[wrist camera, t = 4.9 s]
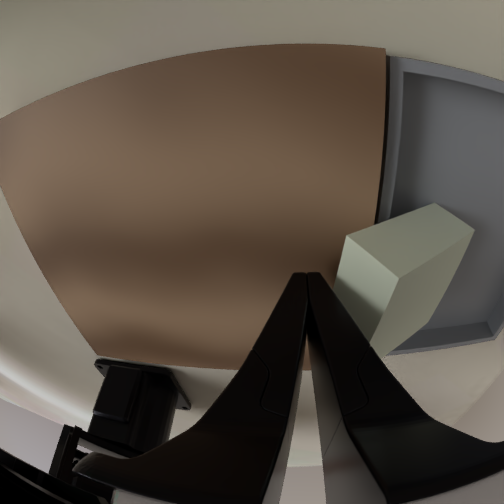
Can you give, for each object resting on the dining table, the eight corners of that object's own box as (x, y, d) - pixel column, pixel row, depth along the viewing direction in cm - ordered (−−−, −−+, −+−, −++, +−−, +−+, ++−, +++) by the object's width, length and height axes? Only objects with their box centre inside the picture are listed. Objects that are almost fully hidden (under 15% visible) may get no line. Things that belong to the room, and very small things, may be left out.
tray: (486, 321, 15) (495, 339, 13) (344, 335, 16) (347, 358, 15) (563, 106, 6) (584, 117, 5) (374, 53, 7) (389, 56, 6)
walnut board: (338, 338, 16) (342, 369, 14) (108, 330, 18) (97, 355, 16) (365, 47, 7) (385, 48, 6) (12, 112, 9) (-19, 129, 8)
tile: (398, 295, 13) (427, 322, 12) (317, 343, 11) (349, 380, 10) (434, 202, 10) (474, 229, 9) (346, 235, 8) (399, 278, 7)
